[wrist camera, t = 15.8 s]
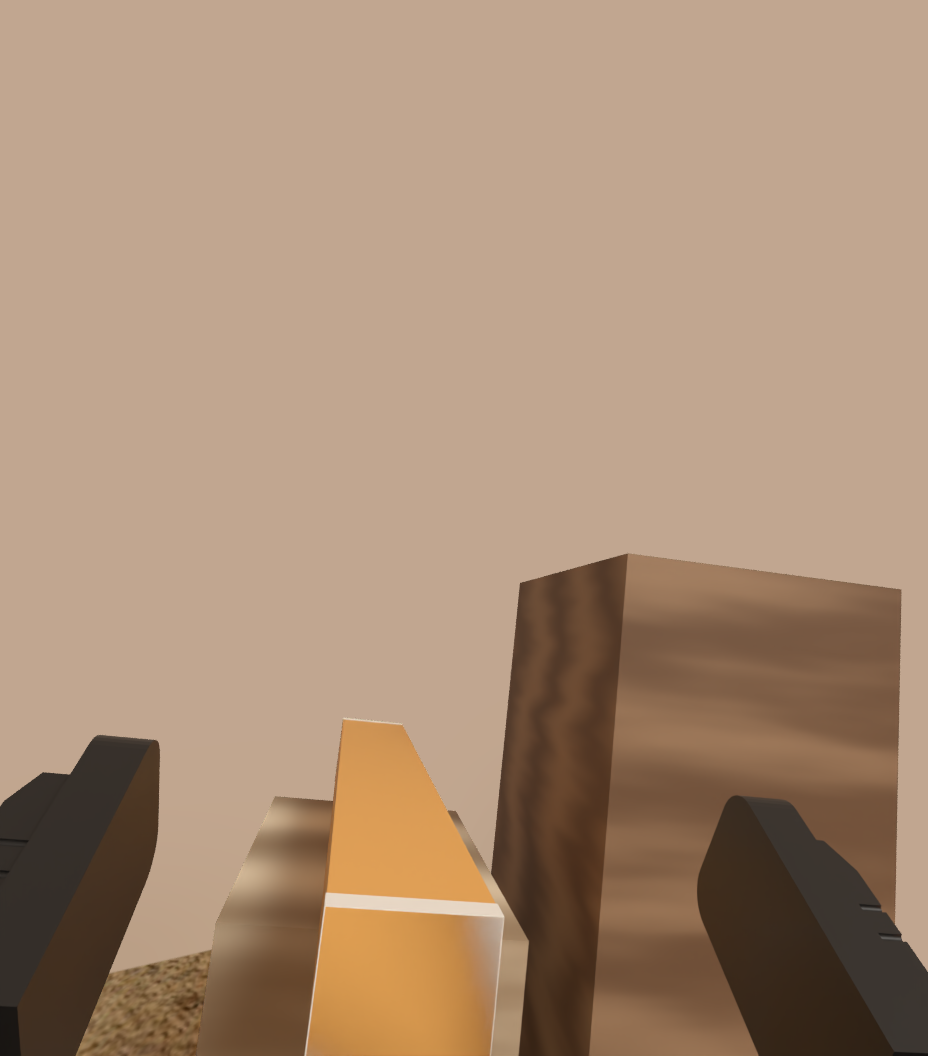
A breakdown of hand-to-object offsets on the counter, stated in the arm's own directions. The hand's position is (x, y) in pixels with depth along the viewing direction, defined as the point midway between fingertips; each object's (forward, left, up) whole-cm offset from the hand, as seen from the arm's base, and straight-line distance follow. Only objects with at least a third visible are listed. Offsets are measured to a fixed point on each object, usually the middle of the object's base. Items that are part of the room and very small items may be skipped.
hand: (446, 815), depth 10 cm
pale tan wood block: (-11, +11, -5) cm, 16 cm away
